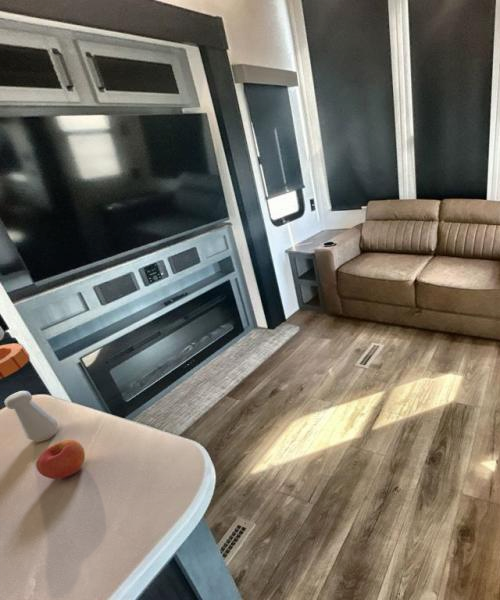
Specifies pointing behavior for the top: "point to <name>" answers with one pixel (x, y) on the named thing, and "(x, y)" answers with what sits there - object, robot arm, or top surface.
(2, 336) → the robot arm
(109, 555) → the top surface
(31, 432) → the salt shaker
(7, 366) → the orange ring
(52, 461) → the apple
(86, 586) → the top surface
